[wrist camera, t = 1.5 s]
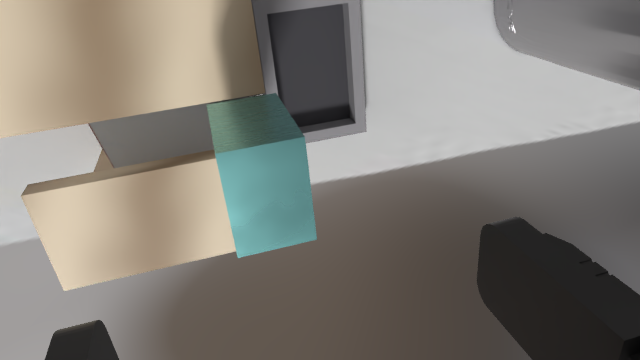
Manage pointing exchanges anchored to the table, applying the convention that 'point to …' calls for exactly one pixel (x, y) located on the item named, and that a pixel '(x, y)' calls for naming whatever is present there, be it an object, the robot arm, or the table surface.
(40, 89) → the tunnel
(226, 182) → the slider
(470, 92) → the table surface
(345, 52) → the tray
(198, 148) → the small box
